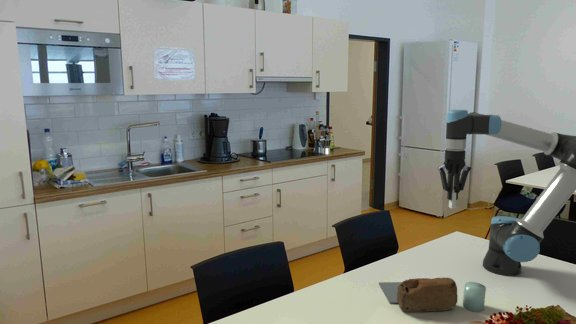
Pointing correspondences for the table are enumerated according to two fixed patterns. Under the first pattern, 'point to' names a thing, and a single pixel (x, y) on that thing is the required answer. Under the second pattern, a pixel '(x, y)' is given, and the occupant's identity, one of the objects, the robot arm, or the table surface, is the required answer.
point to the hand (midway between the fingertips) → (452, 207)
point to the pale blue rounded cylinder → (474, 296)
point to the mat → (390, 291)
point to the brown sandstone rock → (427, 294)
